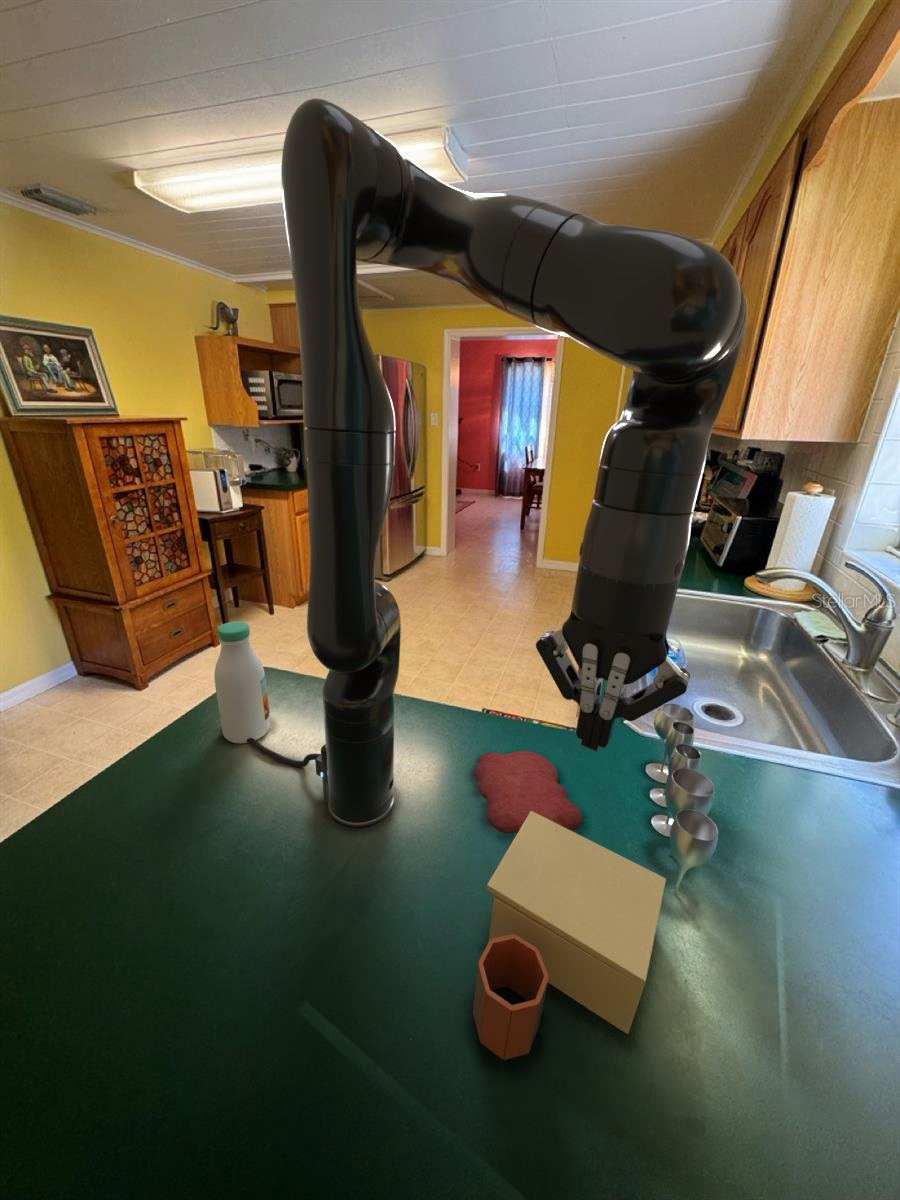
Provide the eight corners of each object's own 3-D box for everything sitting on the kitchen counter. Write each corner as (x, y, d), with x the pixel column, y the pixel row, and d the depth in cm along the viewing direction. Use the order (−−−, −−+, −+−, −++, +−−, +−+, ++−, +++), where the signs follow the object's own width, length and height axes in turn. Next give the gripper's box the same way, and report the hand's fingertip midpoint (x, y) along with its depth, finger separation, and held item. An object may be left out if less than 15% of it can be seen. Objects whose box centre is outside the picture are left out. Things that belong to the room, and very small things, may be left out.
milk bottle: (260, 745, 78) (247, 638, 71) (214, 743, 78) (196, 636, 71) (277, 717, 86) (266, 617, 78) (234, 715, 86) (220, 615, 78)
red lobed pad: (591, 835, 65) (593, 825, 64) (494, 848, 62) (495, 836, 62) (544, 751, 81) (546, 741, 80) (466, 758, 78) (467, 748, 77)
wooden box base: (487, 947, 51) (493, 898, 48) (529, 867, 60) (536, 821, 57) (626, 1039, 44) (643, 987, 41) (649, 932, 53) (664, 884, 50)
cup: (463, 1034, 44) (468, 980, 41) (491, 975, 48) (498, 923, 45) (520, 1078, 41) (531, 1024, 38) (544, 1012, 45) (555, 959, 42)
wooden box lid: (486, 890, 48) (487, 884, 48) (530, 815, 57) (531, 810, 57) (643, 987, 41) (645, 981, 41) (664, 883, 50) (666, 878, 50)
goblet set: (701, 924, 54) (733, 839, 49) (648, 906, 56) (674, 823, 51) (677, 766, 79) (697, 699, 74) (641, 757, 81) (658, 691, 76)
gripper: (727, 570, 36) (674, 750, 43) (563, 539, 43) (539, 700, 49) (721, 597, 30) (661, 802, 37) (531, 557, 37) (508, 738, 43)
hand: (591, 743), depth 43 cm, fingers closed
